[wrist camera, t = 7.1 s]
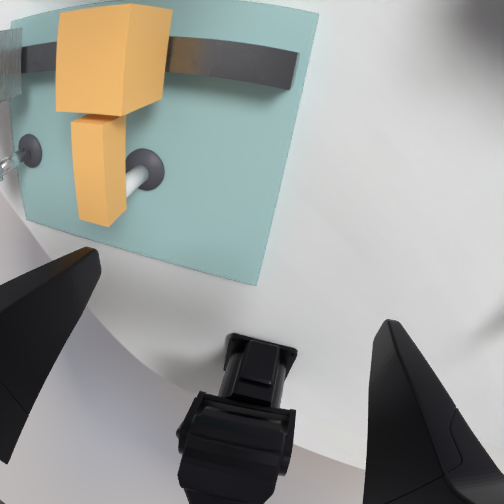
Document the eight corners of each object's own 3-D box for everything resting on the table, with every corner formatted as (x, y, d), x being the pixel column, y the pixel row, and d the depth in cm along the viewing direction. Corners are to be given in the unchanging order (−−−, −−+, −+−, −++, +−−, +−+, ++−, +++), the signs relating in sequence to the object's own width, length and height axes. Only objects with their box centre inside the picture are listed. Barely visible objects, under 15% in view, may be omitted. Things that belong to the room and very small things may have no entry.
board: (258, 277, 25) (255, 288, 24) (32, 214, 27) (24, 220, 26) (318, 15, 14) (318, 12, 13) (19, 20, 15) (9, 21, 14)
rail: (293, 86, 16) (289, 90, 14) (12, 71, 17) (-6, 77, 15) (300, 52, 15) (298, 52, 13) (12, 48, 16) (-6, 53, 14)
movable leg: (167, 187, 20) (124, 233, 16) (115, 176, 20) (66, 217, 16) (185, 12, 13) (131, 3, 9) (123, 13, 14) (59, 12, 9)
